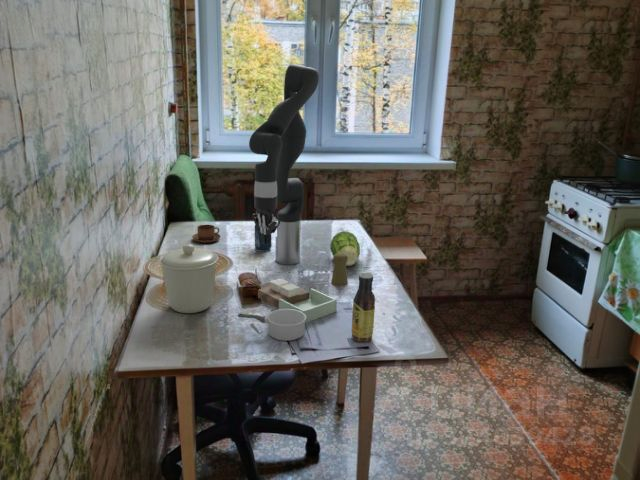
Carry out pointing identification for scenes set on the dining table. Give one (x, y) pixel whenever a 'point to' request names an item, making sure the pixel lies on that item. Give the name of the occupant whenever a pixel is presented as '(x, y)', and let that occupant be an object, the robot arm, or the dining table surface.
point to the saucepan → (283, 323)
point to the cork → (340, 270)
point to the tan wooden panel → (280, 296)
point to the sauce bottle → (363, 309)
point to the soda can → (260, 241)
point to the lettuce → (346, 246)
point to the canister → (189, 278)
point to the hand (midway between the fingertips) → (265, 244)
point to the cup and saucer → (206, 234)
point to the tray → (313, 305)
